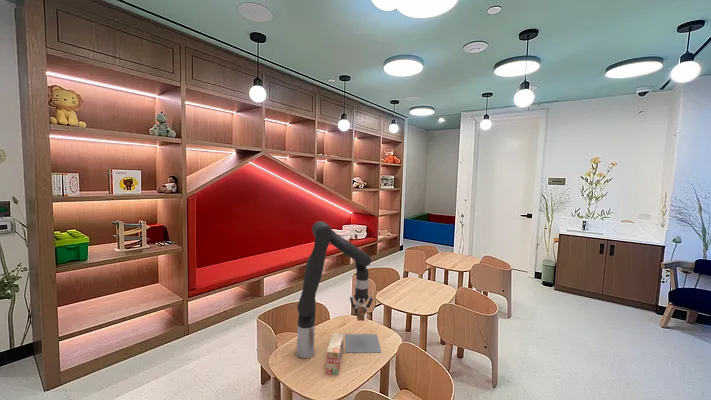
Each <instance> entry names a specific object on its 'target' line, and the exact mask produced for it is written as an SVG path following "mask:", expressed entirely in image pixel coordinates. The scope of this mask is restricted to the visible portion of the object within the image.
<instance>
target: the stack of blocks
mask: <svg viewBox="0 0 711 400" xmlns="http://www.w3.org/2000/svg"><path fill="white" fill-rule="evenodd" d="M344 337H345V334H344V333H332V337H330V340H329V344H328V347H327V350H326V370H325V371H326V372H325V373H326V374H327V375H328V374H329V375H337V376H338V375H339V372H340V367H341V363H342V357H343V352H344V341H345V340H344Z"/></svg>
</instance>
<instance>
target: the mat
mask: <svg viewBox="0 0 711 400" xmlns="http://www.w3.org/2000/svg"><path fill="white" fill-rule="evenodd" d="M344 337H345V350H346V354H377V353H378V354H382V349H381V345H380V341H379V338H378V335H377V333H369V334H368V333H359V334H358V333H355V334H353V333H350V334H349V333H345V334H344Z"/></svg>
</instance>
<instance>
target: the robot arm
mask: <svg viewBox="0 0 711 400" xmlns="http://www.w3.org/2000/svg"><path fill="white" fill-rule="evenodd" d="M311 231H312V234H313V236H314V237H315V238H314V245H313V249H312V251H311V253H310V255H309V257H308V259H307V262H306V265H305V270H304V274H303V275H304V276H303V282H302V290H301V291H302V292H301V295H300V299H299V301H298V303H297V307H296V308H297V312H298V318H297V338H296V357H297V358H298V357H299V358H301V359H308V358H311V357H313V356H314V354H315V326H316V325H315V323H316V322H315V321H316V306H317V304H316V303H317V302H316V294H317V291H318V288H319V284H320V282H321V278H322V276H323V270H324V265H325V261H326V255H327V251H328V247H329V244H331V245H333V246H334V247H335V248H336V249H338V251H340V252H341V253H342V254H344V255H345V256H347V257H349V258H350V259H353V261H354V263H355V269H356V273H355V274H356V276H355V283H354V285H355V286H354V287H355V290H354V295H353V296H349V300H350V301H349V302H350V304H351V307H352V308H353V309H354V313H355V315H356V316H357V310H358V309H357V308H358V303H359V302H363V303H365V315H366V314H367V309H370V307H371V305H372V302H373V296H370V295H369V270H368V268H367V267H368V266H370V265H371V263H372V258H371V256H370V254H368V253H366V252H364V251H363V250H361V249H359V248H358V247H357V246H356V245H354V244H353V243H352V242H351V241H348V240H347V239H345V238H344V237H342V236H341V235H339V234H338V233H337V232H335V231H334V230H333V229H332V228H331V226H330V225H329V224H327V222H325V221H319V220H318V221H315V222H314V223H313V224H312V227H311ZM354 300H355V302H354ZM367 301H368V302H367ZM366 302H367V303H366ZM354 303H355V304H354Z"/></svg>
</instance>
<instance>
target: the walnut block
mask: <svg viewBox="0 0 711 400" xmlns="http://www.w3.org/2000/svg"><path fill="white" fill-rule="evenodd" d="M357 309H358V310H357V315H356V320H357V322H361V321H363V322H365V315H366V314H365V303H363V302H359V303H358V308H357Z"/></svg>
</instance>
